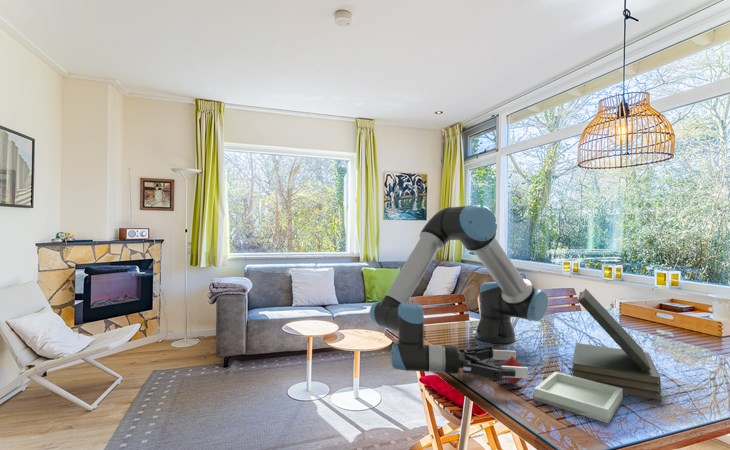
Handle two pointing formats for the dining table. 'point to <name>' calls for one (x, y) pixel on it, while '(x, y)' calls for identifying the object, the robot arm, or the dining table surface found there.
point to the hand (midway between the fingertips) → (521, 363)
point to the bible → (615, 357)
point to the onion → (512, 362)
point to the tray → (580, 396)
